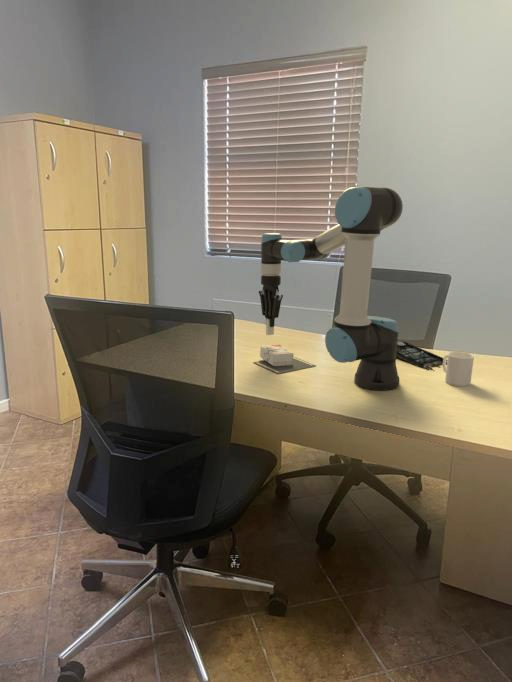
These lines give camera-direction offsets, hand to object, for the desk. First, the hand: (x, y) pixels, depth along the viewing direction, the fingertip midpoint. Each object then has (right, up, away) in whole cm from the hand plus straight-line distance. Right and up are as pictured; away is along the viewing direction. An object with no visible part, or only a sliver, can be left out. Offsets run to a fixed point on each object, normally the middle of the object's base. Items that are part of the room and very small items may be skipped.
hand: (269, 334), depth 205 cm
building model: (+58, -11, +4) cm, 59 cm away
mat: (+5, -12, -5) cm, 14 cm away
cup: (+64, -17, -21) cm, 70 cm away
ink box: (0, -6, +2) cm, 7 cm away
